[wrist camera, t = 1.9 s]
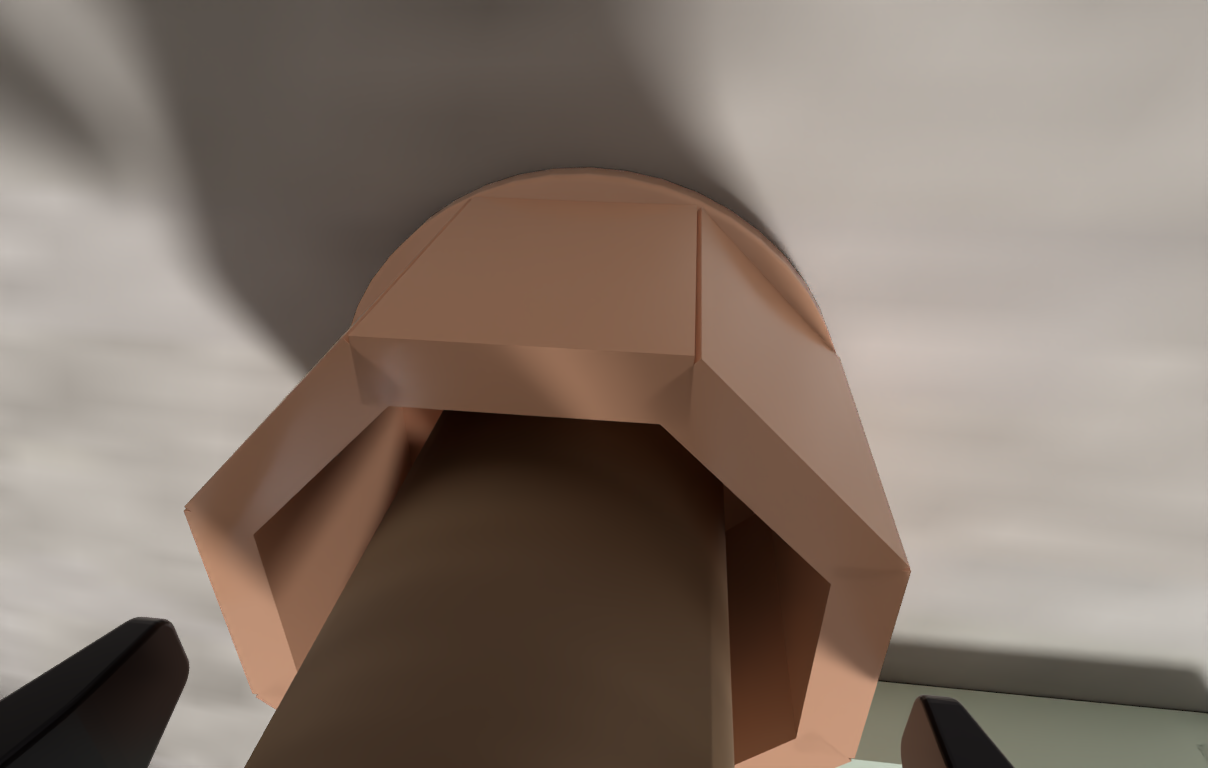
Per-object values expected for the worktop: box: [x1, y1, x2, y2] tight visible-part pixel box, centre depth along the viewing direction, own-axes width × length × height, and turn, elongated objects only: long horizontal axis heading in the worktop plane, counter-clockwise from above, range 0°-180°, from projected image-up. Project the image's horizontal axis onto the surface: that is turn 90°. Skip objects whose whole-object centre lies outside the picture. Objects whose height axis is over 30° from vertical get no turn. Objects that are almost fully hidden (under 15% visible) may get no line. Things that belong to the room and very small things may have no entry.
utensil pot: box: [184, 167, 911, 768], centre depth 12 cm, size 9×9×6 cm
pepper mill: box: [244, 410, 735, 768], centre depth 9 cm, size 5×5×10 cm
